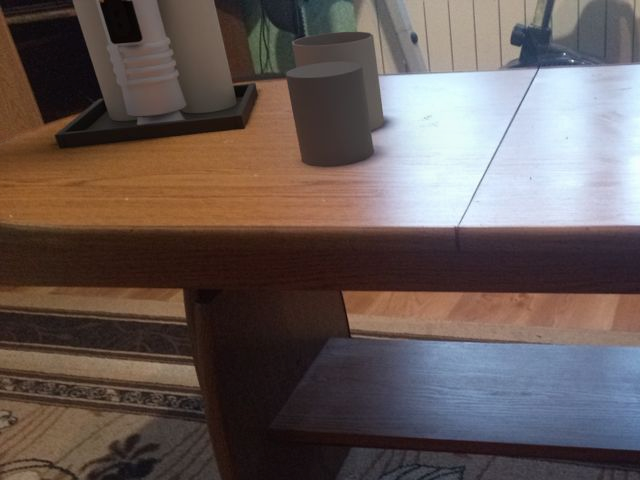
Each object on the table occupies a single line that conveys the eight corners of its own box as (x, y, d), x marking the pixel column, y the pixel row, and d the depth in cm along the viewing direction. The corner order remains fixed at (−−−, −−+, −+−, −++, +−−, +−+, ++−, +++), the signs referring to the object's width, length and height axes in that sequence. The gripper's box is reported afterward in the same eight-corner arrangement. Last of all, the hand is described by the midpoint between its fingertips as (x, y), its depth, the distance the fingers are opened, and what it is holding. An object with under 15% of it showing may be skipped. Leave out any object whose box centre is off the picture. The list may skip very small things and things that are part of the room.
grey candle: (302, 180, 69) (283, 80, 64) (304, 159, 75) (287, 66, 70) (377, 172, 69) (363, 72, 65) (373, 151, 75) (360, 58, 71)
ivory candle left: (103, 123, 92) (60, -10, 84) (117, 110, 97) (78, -15, 90) (161, 117, 92) (124, -15, 84) (171, 105, 98) (137, -20, 90)
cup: (324, 151, 77) (307, 49, 71) (299, 135, 83) (281, 40, 78) (397, 135, 80) (385, 36, 75) (367, 120, 86) (355, 29, 81)
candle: (118, 132, 87) (75, -8, 79) (165, 117, 92) (129, -16, 84) (157, 136, 84) (115, -8, 76) (203, 121, 89) (169, -16, 81)
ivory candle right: (177, 115, 92) (141, -17, 85) (186, 103, 98) (154, -21, 91) (233, 109, 93) (203, -22, 85) (239, 97, 99) (212, -26, 91)
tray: (60, 153, 83) (54, 135, 82) (103, 114, 99) (98, 98, 98) (245, 133, 85) (241, 115, 84) (258, 98, 101) (255, 82, 100)
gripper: (70, -144, 81) (120, 29, 90) (12, -156, 66) (79, 53, 75) (140, -149, 81) (183, 23, 91) (98, -162, 67) (154, 45, 76)
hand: (135, 35), depth 83 cm, fingers open, 7 cm apart
